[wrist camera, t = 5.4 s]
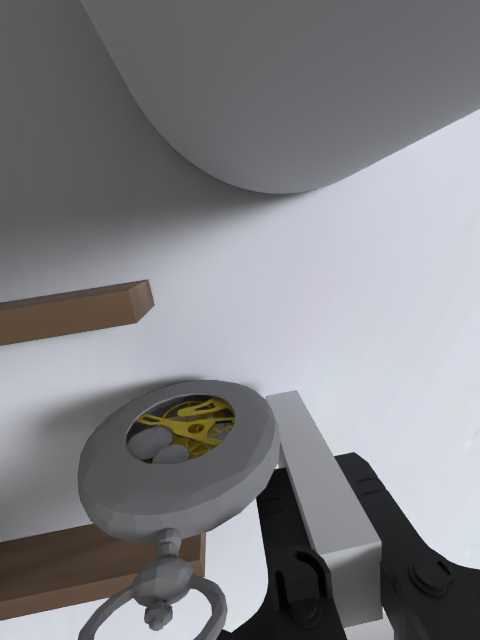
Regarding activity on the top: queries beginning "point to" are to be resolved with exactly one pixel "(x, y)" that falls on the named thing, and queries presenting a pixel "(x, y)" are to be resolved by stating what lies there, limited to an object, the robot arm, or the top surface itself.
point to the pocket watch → (176, 484)
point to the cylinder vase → (293, 80)
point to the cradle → (88, 541)
